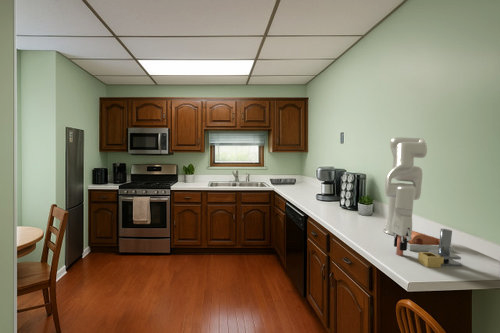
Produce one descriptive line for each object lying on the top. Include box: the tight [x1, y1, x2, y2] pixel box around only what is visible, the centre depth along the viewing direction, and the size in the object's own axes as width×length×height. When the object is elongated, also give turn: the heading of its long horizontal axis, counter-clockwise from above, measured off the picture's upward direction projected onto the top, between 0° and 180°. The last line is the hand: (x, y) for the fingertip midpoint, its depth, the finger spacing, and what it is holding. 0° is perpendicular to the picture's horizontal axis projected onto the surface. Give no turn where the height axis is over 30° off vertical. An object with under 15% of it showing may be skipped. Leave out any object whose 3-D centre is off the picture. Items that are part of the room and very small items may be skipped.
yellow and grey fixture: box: [417, 228, 463, 268], centre depth 130 cm, size 12×18×15 cm
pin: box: [395, 235, 405, 257], centre depth 137 cm, size 3×3×10 cm
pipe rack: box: [407, 243, 454, 253], centre depth 151 cm, size 12×24×3 cm, turn 94°
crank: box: [405, 230, 440, 245], centre depth 152 cm, size 20×8×8 cm, turn 94°
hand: (400, 248), depth 137 cm, fingers open, 4 cm apart
